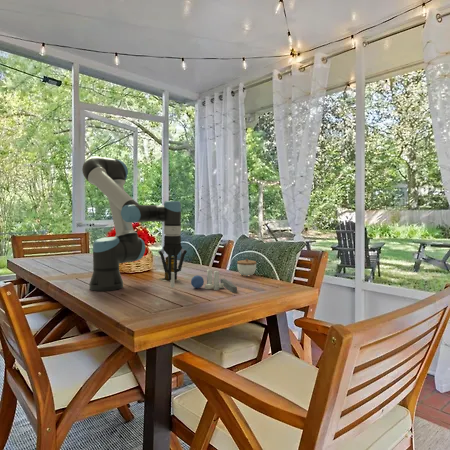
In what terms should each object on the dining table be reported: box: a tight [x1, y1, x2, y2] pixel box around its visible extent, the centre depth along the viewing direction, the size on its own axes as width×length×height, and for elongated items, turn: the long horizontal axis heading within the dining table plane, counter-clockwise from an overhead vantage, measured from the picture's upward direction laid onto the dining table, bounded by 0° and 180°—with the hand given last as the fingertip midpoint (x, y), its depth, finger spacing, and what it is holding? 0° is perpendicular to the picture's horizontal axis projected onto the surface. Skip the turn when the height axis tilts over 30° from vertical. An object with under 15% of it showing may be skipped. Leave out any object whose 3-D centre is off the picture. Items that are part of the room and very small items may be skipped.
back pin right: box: [213, 270, 220, 291], centre depth 174 cm, size 2×2×8 cm
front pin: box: [204, 282, 225, 290], centre depth 176 cm, size 2×2×8 cm
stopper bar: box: [220, 278, 238, 294], centre depth 178 cm, size 2×20×2 cm, turn 16°
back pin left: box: [206, 269, 213, 284], centre depth 178 cm, size 2×2×8 cm
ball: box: [190, 275, 205, 289], centre depth 177 cm, size 6×6×6 cm
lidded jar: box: [237, 258, 257, 277], centre depth 211 cm, size 11×11×9 cm
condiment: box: [159, 256, 180, 282], centre depth 197 cm, size 7×8×12 cm
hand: (172, 286), depth 171 cm, fingers closed
